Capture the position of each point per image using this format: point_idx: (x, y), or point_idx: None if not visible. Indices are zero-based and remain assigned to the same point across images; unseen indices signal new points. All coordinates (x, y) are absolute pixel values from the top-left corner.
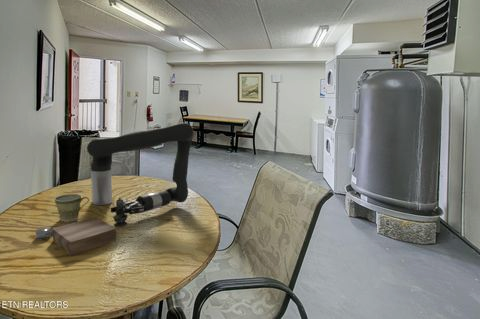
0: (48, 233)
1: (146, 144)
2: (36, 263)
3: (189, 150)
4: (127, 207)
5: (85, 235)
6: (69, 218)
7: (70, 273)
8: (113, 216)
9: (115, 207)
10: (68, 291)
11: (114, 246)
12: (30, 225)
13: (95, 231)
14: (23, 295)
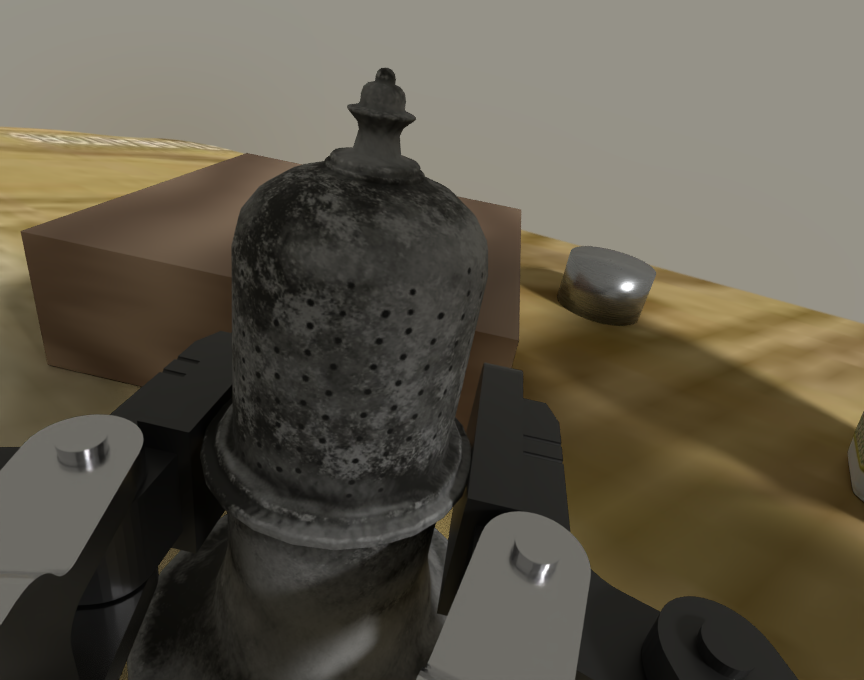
0: (569, 273)
1: None
2: None
3: None
4: (63, 473)
5: (230, 178)
6: (861, 443)
7: (133, 187)
8: (442, 539)
9: (477, 422)
10: (58, 154)
11: (17, 313)
12: (852, 361)
13: (204, 200)
14: (199, 154)
